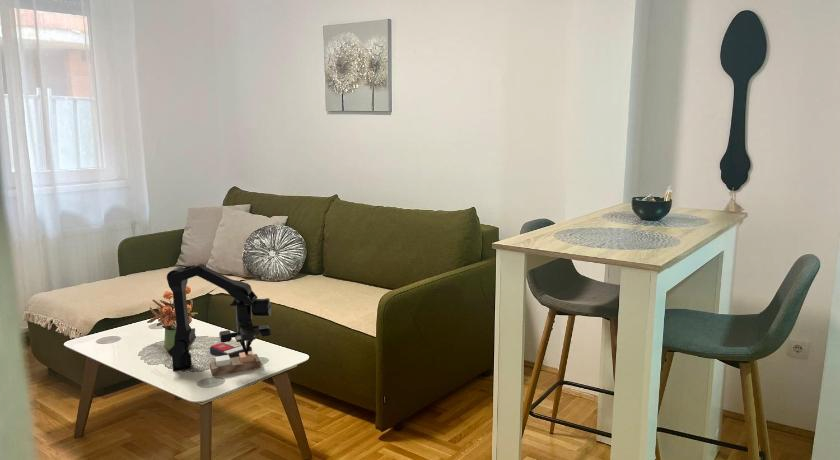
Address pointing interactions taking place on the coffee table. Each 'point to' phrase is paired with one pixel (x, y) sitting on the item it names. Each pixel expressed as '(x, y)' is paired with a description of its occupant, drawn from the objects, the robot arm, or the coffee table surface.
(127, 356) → the coffee table surface
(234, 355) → the calculator
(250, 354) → the tan wooden block
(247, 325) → the robot arm
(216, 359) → the cream key
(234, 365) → the key panel
